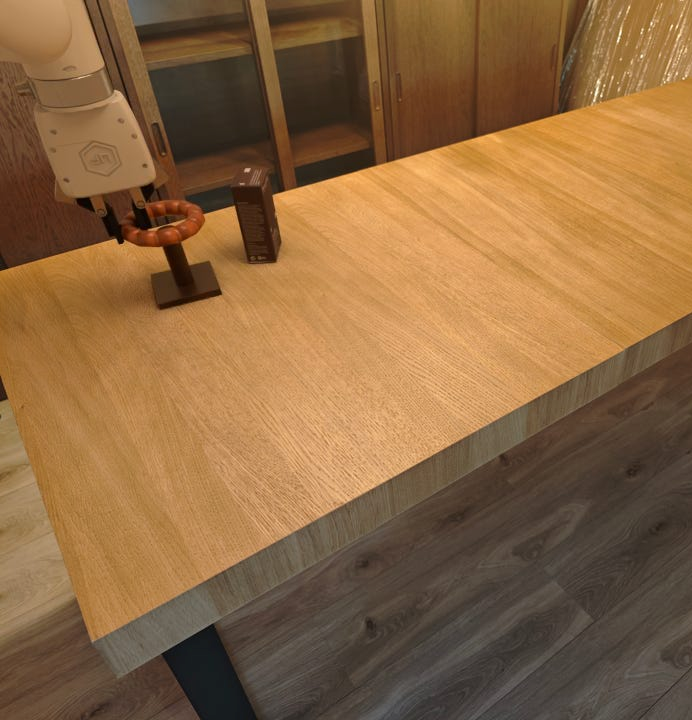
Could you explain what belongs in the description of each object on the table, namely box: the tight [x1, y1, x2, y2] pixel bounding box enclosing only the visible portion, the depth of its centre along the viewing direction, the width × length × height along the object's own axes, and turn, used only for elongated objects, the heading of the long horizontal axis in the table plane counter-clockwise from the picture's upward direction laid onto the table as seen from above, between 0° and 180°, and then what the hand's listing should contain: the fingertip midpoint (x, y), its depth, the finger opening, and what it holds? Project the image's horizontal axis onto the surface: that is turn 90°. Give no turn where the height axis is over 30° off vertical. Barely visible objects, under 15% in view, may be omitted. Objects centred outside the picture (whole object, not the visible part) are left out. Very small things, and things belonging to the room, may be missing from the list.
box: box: [230, 167, 283, 264], centre depth 92 cm, size 6×4×12 cm
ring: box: [119, 199, 206, 248], centre depth 82 cm, size 10×10×2 cm
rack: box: [150, 224, 223, 311], centre depth 86 cm, size 8×8×9 cm
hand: (133, 235), depth 82 cm, fingers closed on ring, 2 cm apart
